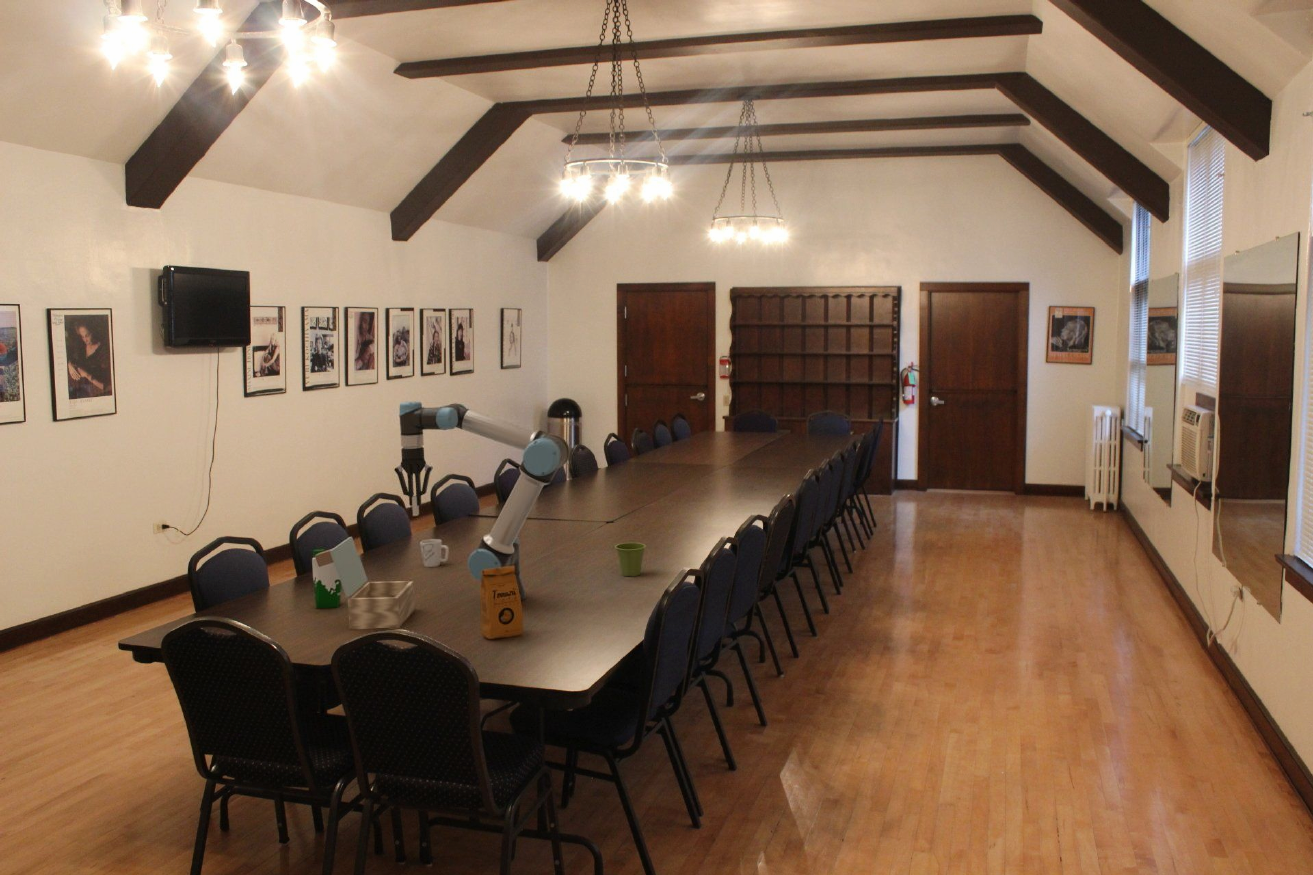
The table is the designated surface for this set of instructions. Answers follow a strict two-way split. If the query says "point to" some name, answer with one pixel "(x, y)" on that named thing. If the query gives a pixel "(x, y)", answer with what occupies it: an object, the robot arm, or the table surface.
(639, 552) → the plant pot
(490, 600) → the coffee package
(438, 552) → the mug
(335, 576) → the milk carton
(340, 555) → the lid
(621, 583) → the table surface
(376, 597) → the box
